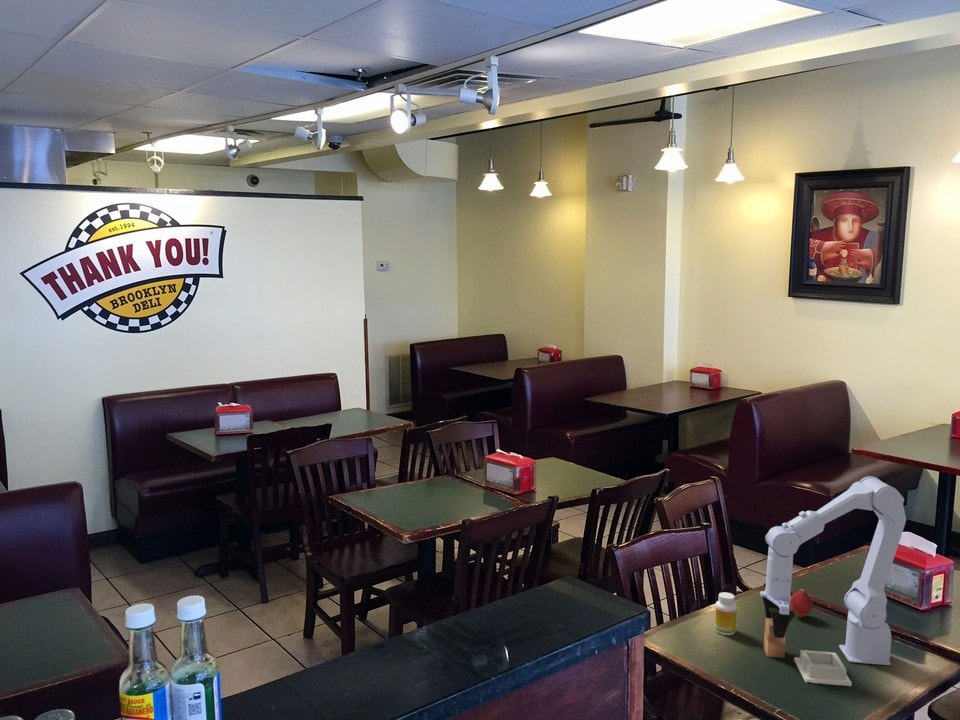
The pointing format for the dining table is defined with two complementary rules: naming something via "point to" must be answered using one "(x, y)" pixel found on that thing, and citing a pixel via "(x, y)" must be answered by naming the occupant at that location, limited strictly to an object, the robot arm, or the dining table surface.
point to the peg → (773, 641)
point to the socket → (822, 668)
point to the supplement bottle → (725, 614)
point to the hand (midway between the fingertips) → (775, 629)
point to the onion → (801, 603)
